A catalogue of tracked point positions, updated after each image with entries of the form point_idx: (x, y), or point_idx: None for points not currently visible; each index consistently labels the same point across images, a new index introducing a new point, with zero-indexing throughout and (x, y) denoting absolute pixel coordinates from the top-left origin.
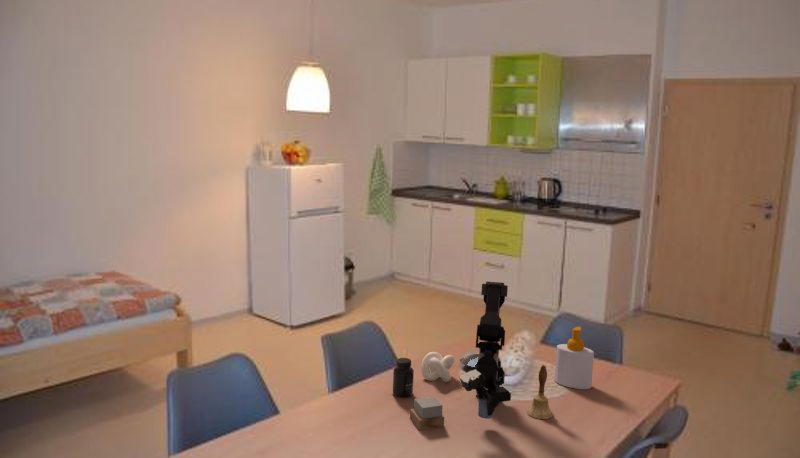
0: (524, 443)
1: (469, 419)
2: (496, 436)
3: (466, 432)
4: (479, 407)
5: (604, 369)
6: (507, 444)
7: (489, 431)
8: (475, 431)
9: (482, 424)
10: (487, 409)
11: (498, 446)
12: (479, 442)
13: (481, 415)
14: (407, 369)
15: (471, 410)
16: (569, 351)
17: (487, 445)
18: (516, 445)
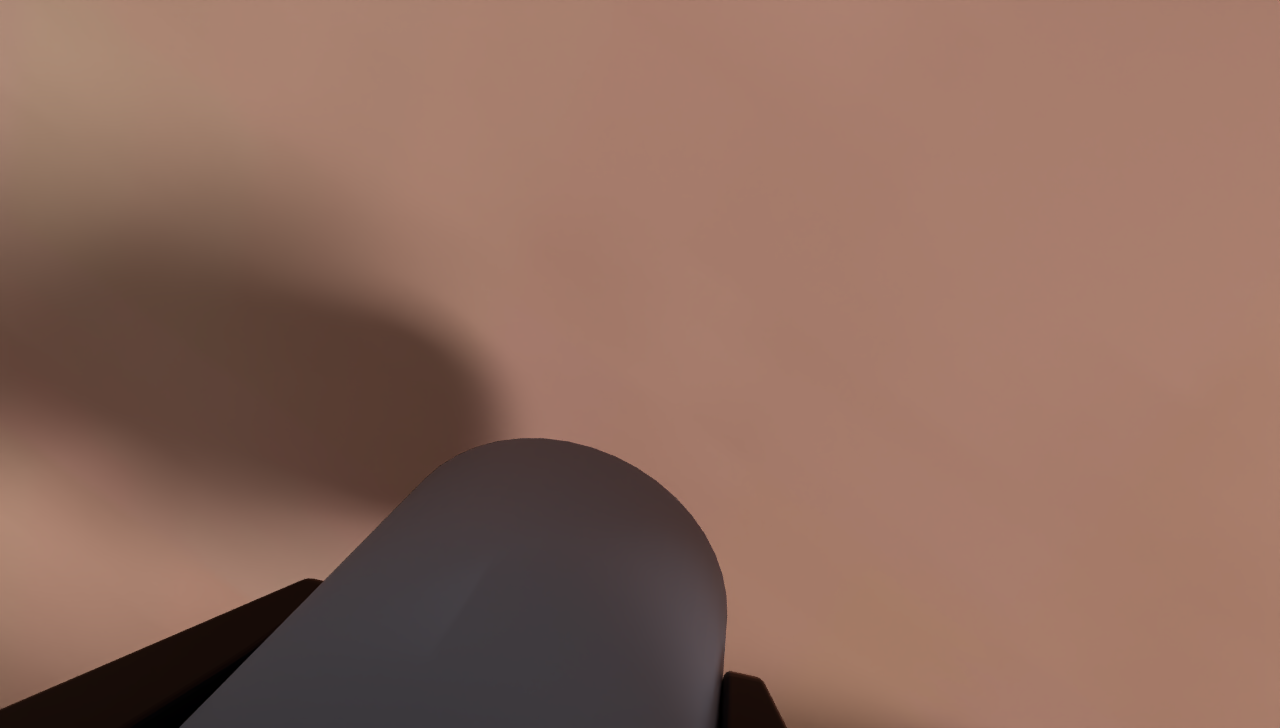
0: (66, 606)
1: (980, 400)
2: (293, 428)
3: (562, 39)
4: (475, 585)
5: None
6: (68, 417)
7: (457, 433)
8: (535, 226)
9: (702, 481)
10: (171, 675)
11: (31, 272)
12: (179, 60)
13: (462, 471)
14: None
15: (1263, 642)
16: None
17: (74, 132)
18: (33, 498)
